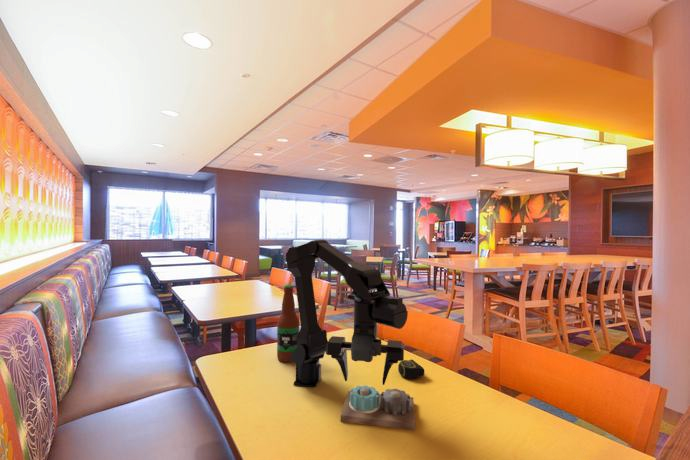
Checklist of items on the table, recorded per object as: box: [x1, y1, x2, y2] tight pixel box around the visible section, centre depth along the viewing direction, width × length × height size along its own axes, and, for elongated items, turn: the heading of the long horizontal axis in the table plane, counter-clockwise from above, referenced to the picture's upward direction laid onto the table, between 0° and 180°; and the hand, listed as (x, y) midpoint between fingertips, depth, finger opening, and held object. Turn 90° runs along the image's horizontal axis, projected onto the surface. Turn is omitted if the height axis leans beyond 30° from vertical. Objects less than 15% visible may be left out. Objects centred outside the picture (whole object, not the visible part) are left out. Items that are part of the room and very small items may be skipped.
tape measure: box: [397, 359, 425, 380], centre depth 98 cm, size 7×7×4 cm
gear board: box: [340, 388, 416, 431], centre depth 79 cm, size 17×11×5 cm, turn 80°
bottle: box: [276, 284, 300, 363], centre depth 109 cm, size 7×7×25 cm
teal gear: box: [350, 384, 380, 411], centre depth 79 cm, size 7×7×3 cm
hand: (364, 382), depth 79 cm, fingers open, 9 cm apart
